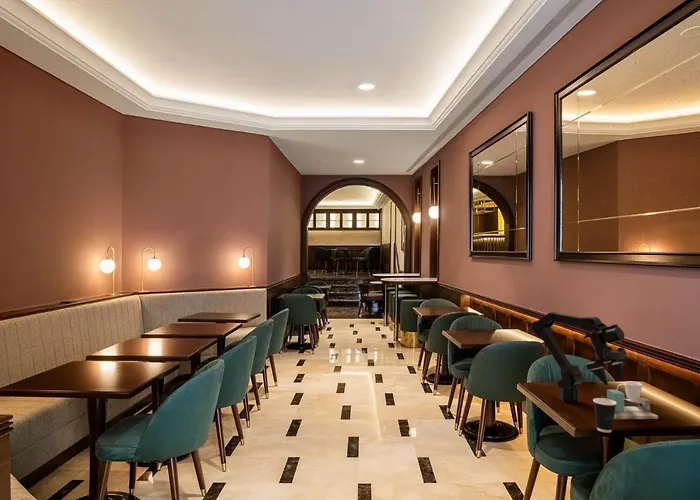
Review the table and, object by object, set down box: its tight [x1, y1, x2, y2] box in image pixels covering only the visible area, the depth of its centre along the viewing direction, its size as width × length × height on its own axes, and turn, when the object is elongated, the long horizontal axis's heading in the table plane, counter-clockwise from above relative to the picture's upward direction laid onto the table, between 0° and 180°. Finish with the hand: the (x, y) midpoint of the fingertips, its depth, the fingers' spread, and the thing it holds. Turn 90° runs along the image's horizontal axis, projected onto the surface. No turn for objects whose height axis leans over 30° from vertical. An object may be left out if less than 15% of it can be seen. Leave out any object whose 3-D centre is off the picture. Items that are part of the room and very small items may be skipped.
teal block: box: [606, 389, 625, 412], centre depth 208 cm, size 4×6×7 cm
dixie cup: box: [592, 397, 617, 433], centre depth 189 cm, size 8×8×11 cm
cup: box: [616, 380, 643, 403], centre depth 226 cm, size 7×10×8 cm
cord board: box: [600, 395, 659, 420], centre depth 209 cm, size 18×14×6 cm
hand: (614, 382), depth 208 cm, fingers open, 9 cm apart
